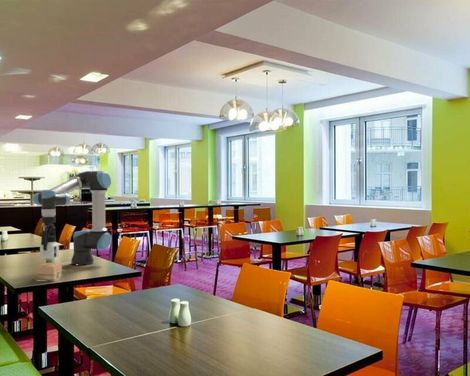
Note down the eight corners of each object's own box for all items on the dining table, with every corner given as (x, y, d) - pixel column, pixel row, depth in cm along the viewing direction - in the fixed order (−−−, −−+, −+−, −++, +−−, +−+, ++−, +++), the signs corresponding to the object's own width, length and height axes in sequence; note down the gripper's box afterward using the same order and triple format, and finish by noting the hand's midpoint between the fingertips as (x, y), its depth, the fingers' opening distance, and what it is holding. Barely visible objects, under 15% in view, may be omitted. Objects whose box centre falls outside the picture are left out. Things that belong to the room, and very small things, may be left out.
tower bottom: (43, 277, 266) (43, 270, 266) (61, 277, 266) (61, 270, 266) (35, 282, 255) (35, 274, 255) (54, 282, 255) (54, 274, 255)
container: (59, 256, 264) (59, 235, 263) (52, 259, 256) (52, 236, 256) (46, 256, 264) (46, 234, 264) (39, 258, 257) (39, 236, 256)
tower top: (43, 270, 266) (43, 262, 266) (61, 270, 266) (61, 262, 266) (34, 274, 255) (34, 266, 255) (53, 274, 255) (53, 266, 255)
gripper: (49, 214, 270) (49, 251, 271) (34, 217, 249) (34, 257, 250) (61, 214, 270) (62, 251, 271) (47, 217, 249) (47, 257, 250)
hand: (48, 254), depth 260 cm, fingers closed on container, 8 cm apart
